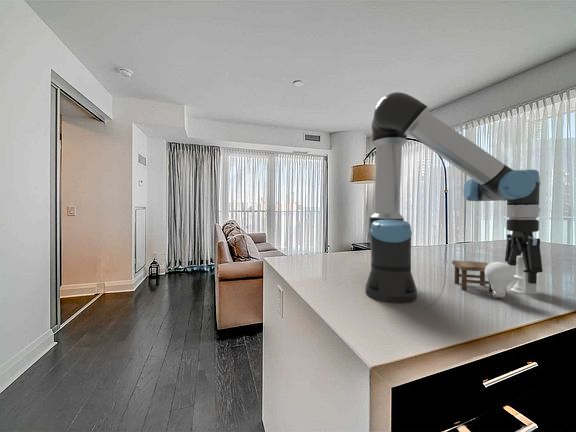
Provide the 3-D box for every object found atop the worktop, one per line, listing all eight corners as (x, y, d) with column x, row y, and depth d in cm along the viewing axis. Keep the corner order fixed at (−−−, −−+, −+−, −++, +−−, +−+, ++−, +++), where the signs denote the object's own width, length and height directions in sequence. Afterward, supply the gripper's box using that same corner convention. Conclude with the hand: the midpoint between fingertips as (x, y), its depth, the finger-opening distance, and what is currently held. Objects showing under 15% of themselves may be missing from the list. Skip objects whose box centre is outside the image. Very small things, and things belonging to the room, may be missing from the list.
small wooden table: (461, 290, 81) (461, 266, 81) (452, 282, 90) (452, 260, 90) (498, 293, 78) (498, 268, 77) (485, 284, 87) (485, 262, 87)
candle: (507, 288, 83) (507, 252, 83) (527, 290, 81) (528, 253, 81) (514, 293, 78) (515, 255, 78) (536, 295, 76) (537, 256, 76)
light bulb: (508, 296, 75) (508, 260, 75) (517, 304, 69) (518, 265, 69) (481, 293, 78) (481, 259, 78) (488, 300, 72) (488, 263, 72)
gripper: (561, 220, 68) (560, 301, 68) (518, 217, 88) (518, 280, 88) (526, 220, 70) (525, 298, 71) (493, 217, 90) (492, 278, 91)
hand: (521, 288), depth 80 cm, fingers open, 9 cm apart
